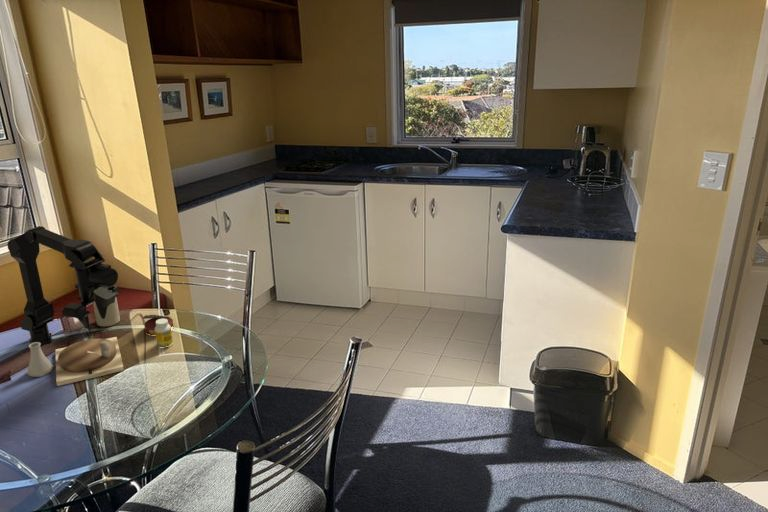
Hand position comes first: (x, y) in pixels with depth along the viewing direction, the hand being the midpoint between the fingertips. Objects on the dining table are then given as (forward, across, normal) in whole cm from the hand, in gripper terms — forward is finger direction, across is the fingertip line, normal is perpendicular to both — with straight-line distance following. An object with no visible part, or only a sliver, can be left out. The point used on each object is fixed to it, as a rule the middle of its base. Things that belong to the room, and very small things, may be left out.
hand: (95, 323), depth 182 cm
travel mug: (+13, +20, +15) cm, 29 cm away
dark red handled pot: (+14, +22, -6) cm, 27 cm away
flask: (+13, -13, +13) cm, 22 cm away
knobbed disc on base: (+11, -3, +2) cm, 12 cm away
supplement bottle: (+13, +14, -15) cm, 24 cm away
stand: (+13, -4, +2) cm, 14 cm away
